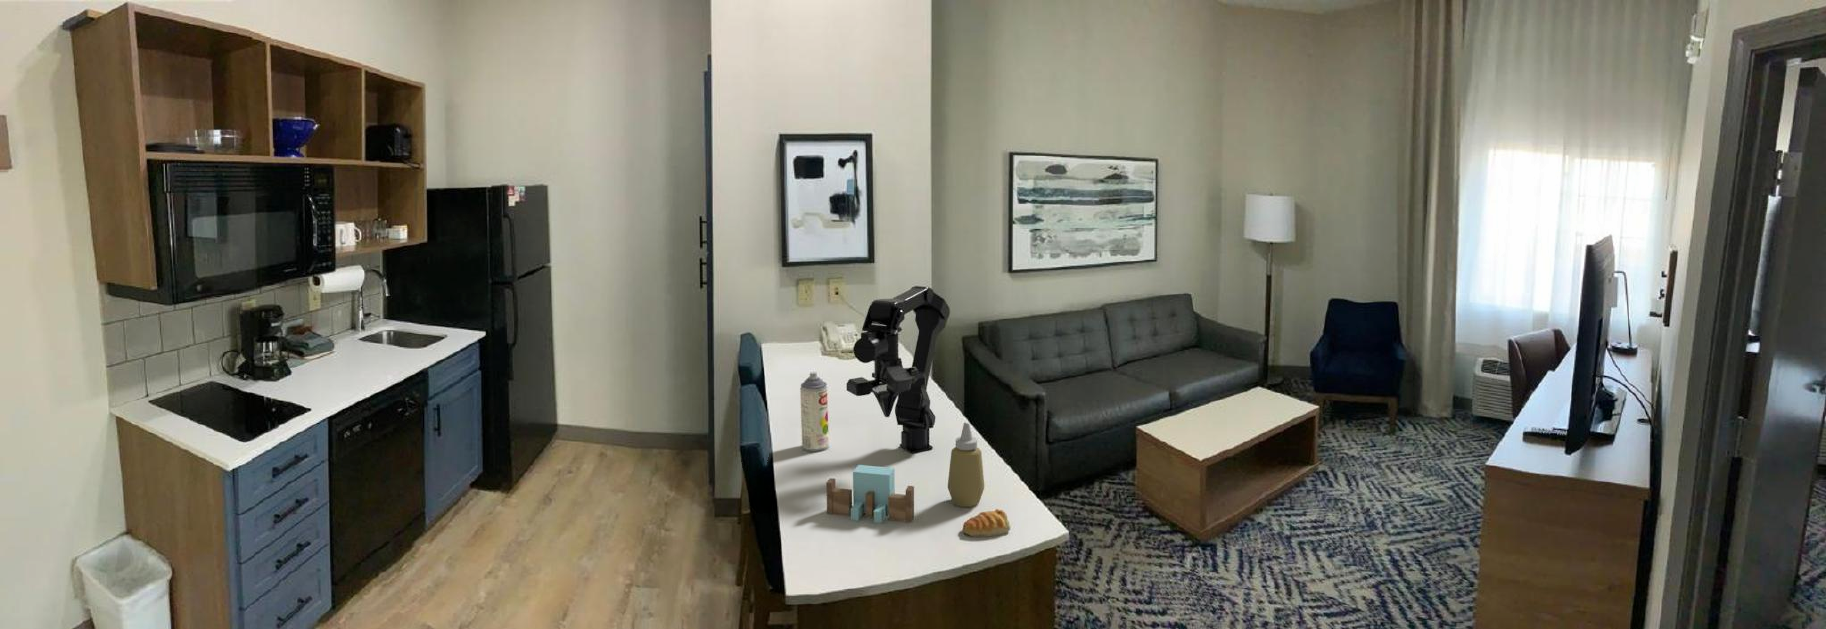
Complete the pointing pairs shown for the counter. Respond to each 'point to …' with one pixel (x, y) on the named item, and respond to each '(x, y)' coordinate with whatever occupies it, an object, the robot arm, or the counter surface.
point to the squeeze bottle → (966, 470)
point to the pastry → (987, 524)
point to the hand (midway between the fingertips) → (886, 416)
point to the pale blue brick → (875, 481)
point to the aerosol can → (814, 414)
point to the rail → (870, 502)
